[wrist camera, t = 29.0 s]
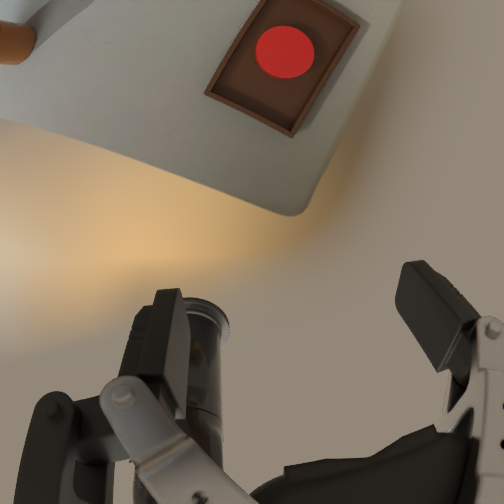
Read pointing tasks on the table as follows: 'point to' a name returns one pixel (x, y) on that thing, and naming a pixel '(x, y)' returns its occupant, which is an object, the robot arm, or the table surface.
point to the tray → (273, 89)
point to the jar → (15, 42)
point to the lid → (284, 52)
